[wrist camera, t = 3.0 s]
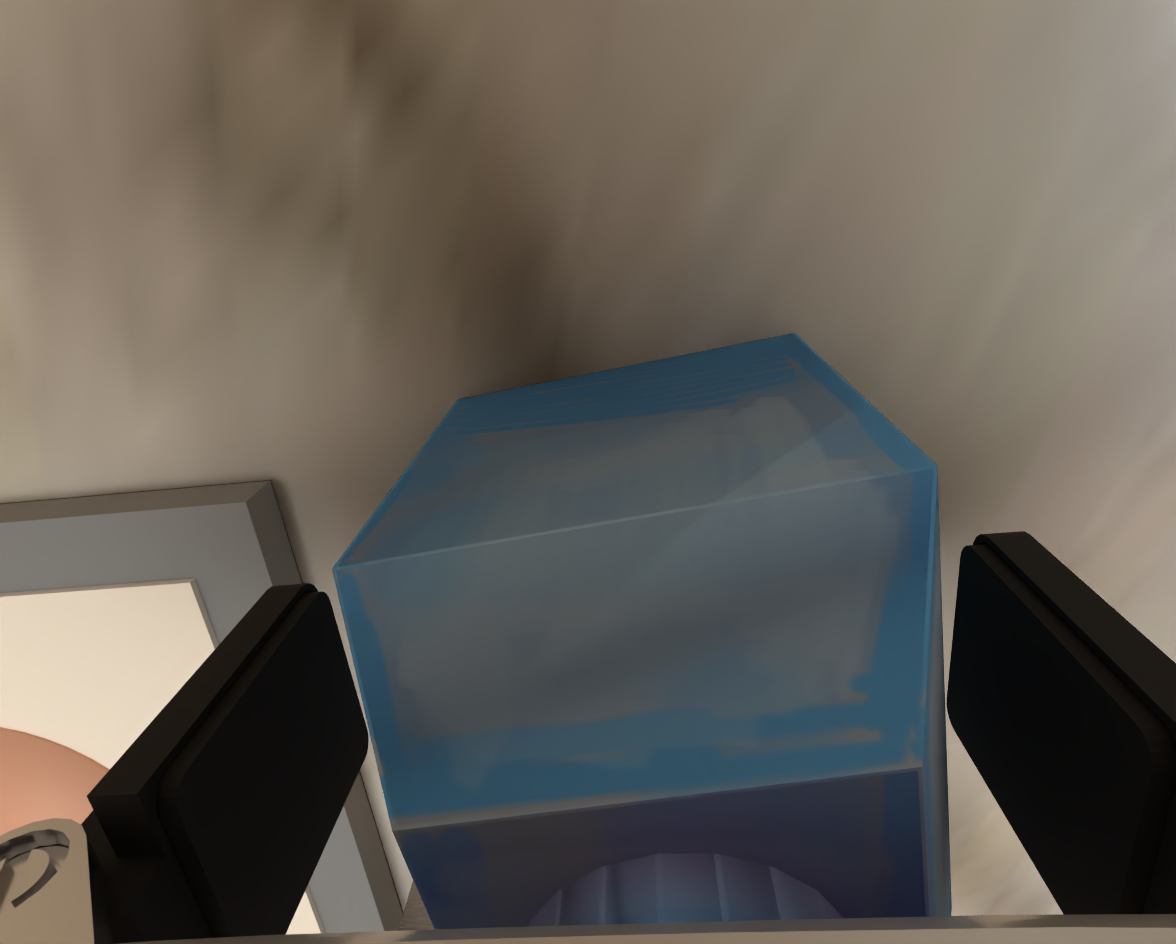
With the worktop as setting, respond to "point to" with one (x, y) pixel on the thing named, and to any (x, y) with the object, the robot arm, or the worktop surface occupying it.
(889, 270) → the worktop surface
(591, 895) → the perfume bottle
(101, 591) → the board
